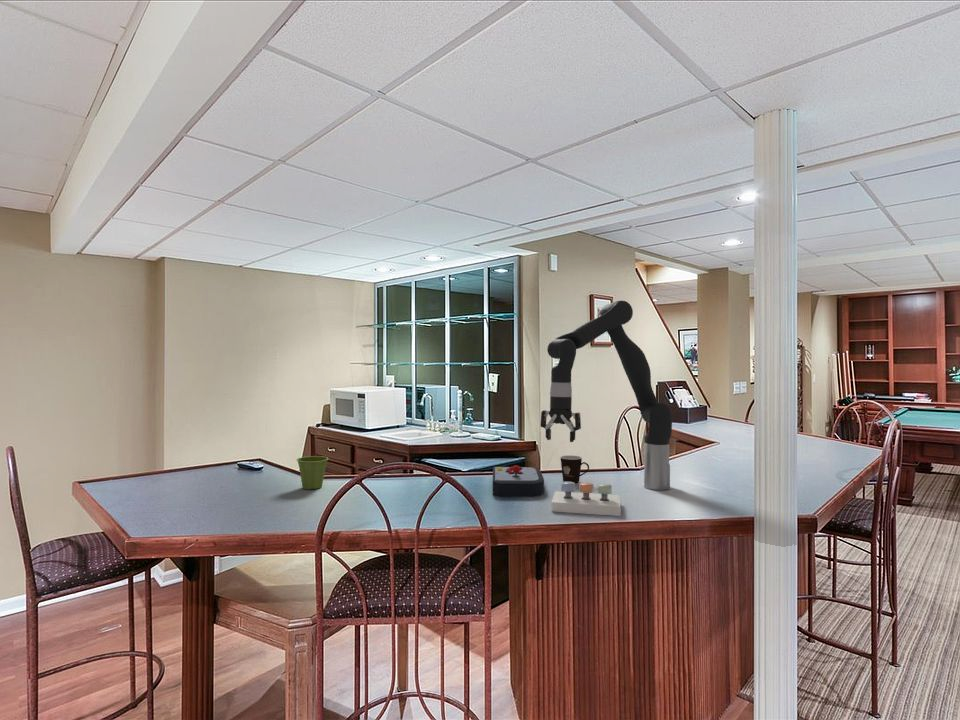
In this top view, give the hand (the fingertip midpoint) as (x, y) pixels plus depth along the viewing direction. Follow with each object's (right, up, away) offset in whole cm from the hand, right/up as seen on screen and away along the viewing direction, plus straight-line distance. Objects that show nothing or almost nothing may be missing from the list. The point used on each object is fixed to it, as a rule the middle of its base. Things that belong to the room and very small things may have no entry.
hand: (560, 440), depth 187 cm
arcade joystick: (-14, -21, +18) cm, 31 cm away
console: (+7, -21, -9) cm, 24 cm away
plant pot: (-93, -21, +17) cm, 97 cm away
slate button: (+2, -19, -8) cm, 20 cm away
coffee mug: (+9, -21, +25) cm, 34 cm away
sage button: (+13, -19, -11) cm, 25 cm away
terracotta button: (+7, -19, -9) cm, 22 cm away
